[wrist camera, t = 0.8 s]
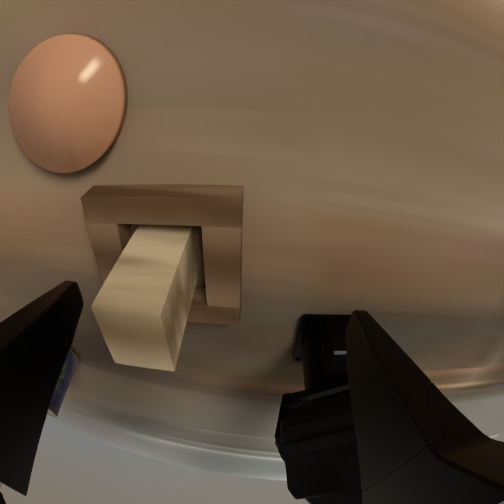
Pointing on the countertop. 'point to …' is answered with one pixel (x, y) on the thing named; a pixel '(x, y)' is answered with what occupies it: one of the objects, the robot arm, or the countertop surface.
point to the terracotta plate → (67, 102)
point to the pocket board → (176, 213)
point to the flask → (64, 381)
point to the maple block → (149, 297)
